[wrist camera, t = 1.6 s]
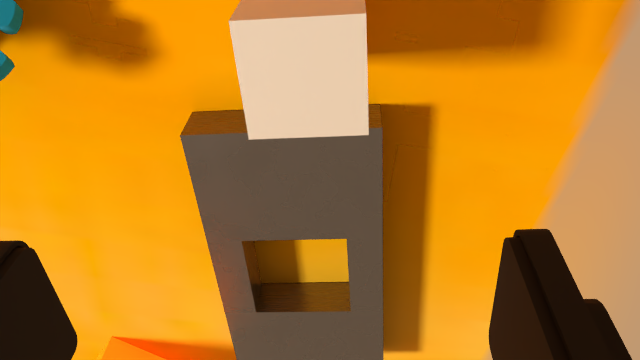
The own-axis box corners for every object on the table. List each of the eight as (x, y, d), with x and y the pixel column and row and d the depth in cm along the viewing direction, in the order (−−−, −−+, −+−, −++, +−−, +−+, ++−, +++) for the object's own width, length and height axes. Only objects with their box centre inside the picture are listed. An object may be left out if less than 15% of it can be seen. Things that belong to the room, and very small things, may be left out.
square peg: (262, -36, 24) (228, 21, 17) (361, -43, 24) (366, 13, 17) (274, 58, 26) (248, 139, 20) (364, 54, 26) (368, 135, 20)
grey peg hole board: (192, 112, 28) (180, 135, 26) (379, 104, 28) (382, 127, 26) (247, 350, 40) (242, 379, 38) (381, 349, 39) (383, 379, 37)
